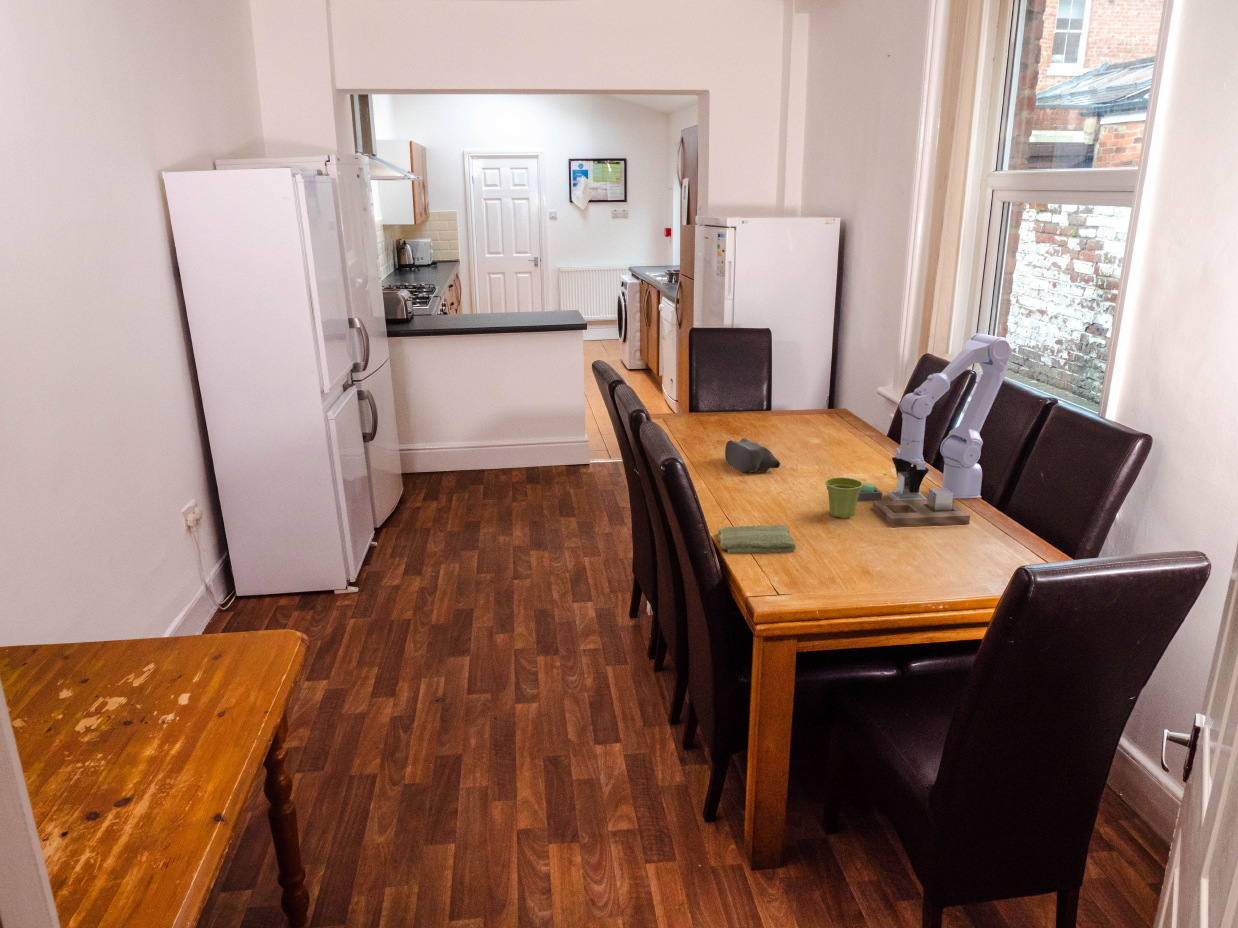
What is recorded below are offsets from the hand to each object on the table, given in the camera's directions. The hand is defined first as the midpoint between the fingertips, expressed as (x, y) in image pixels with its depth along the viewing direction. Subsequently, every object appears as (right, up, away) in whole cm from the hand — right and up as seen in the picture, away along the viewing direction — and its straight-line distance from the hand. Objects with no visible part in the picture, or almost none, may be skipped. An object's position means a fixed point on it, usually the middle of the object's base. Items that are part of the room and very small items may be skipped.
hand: (907, 487), depth 234 cm
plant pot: (-20, -7, -9) cm, 23 cm away
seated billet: (+4, -7, -11) cm, 14 cm away
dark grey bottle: (-37, +5, +32) cm, 50 cm away
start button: (-10, -2, +3) cm, 11 cm away
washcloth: (-45, -13, -27) cm, 54 cm away
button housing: (-10, -3, +3) cm, 11 cm away
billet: (0, -3, +1) cm, 3 cm away
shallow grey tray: (0, -3, +1) cm, 4 cm away
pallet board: (-1, -7, -12) cm, 14 cm away
